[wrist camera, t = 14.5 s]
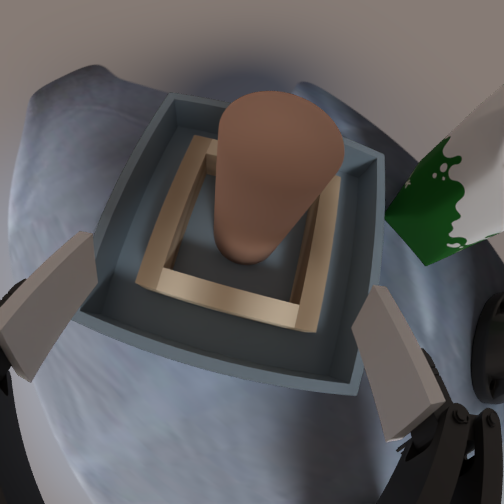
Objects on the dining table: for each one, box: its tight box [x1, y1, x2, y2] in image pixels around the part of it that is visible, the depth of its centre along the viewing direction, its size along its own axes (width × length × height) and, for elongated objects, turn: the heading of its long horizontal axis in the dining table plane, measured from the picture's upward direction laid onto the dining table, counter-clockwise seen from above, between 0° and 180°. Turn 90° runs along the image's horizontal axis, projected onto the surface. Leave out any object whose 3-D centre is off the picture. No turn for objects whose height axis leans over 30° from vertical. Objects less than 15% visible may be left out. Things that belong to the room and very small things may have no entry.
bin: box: [71, 92, 385, 396], centre depth 20 cm, size 20×20×4 cm
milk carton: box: [384, 84, 504, 266], centre depth 15 cm, size 9×9×20 cm
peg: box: [214, 91, 345, 265], centre depth 15 cm, size 5×5×12 cm
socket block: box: [135, 135, 341, 332], centre depth 20 cm, size 12×12×3 cm
